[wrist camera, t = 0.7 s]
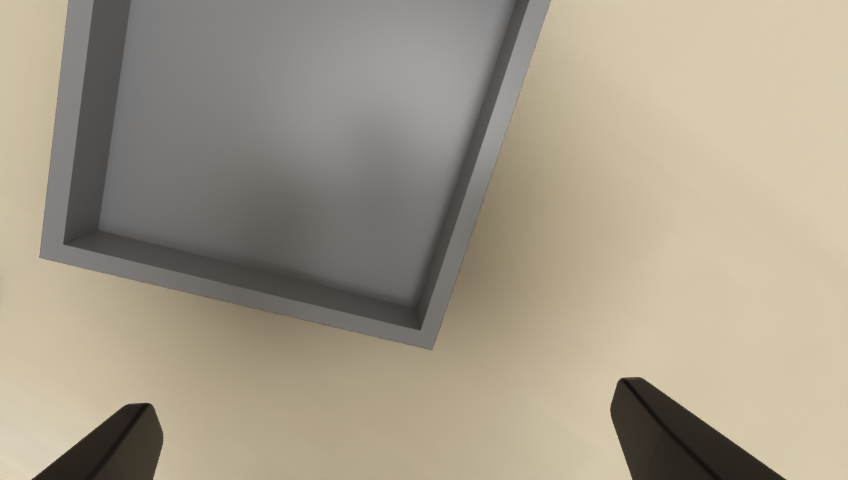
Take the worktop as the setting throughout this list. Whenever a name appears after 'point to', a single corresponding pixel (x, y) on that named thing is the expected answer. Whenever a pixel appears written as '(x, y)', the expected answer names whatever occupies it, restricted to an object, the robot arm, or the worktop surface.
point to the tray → (285, 149)
